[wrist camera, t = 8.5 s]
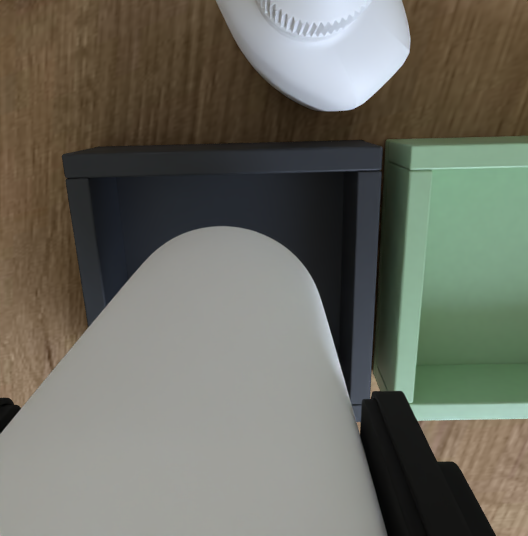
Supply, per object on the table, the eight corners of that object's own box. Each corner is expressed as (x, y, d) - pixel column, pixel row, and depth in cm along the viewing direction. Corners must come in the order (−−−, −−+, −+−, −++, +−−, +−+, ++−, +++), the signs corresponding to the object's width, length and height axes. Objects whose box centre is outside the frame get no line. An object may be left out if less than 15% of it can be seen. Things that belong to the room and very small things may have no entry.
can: (143, 402, 17) (-111, 991, 6) (115, 227, 15) (-365, 588, 4) (323, 395, 17) (438, 984, 5) (320, 216, 15) (492, 560, 3)
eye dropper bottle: (330, -64, 17) (464, -446, 5) (365, 98, 18) (522, 76, 7) (212, -24, 17) (100, -297, 6) (256, 131, 19) (238, 161, 7)
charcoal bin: (97, 146, 19) (60, 154, 16) (362, 139, 19) (383, 146, 15) (128, 378, 22) (102, 426, 19) (353, 374, 22) (369, 422, 19)
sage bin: (385, 139, 19) (410, 145, 15) (655, 132, 19) (741, 136, 15) (372, 373, 22) (391, 421, 19) (601, 369, 22) (663, 417, 19)
